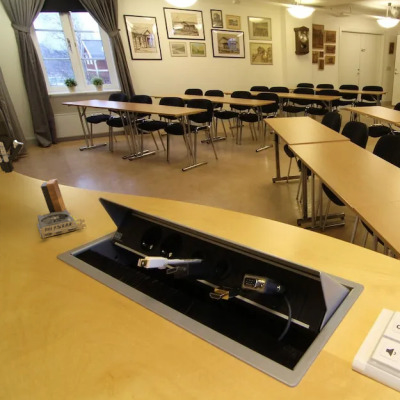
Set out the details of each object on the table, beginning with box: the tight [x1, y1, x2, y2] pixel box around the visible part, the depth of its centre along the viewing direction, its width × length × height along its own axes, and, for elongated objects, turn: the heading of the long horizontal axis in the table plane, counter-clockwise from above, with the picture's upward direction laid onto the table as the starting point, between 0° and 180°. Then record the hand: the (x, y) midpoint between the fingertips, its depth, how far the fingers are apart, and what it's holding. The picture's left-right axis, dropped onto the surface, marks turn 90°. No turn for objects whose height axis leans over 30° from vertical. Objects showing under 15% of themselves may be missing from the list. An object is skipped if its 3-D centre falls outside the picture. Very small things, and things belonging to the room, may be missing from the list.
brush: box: [40, 178, 67, 213], centre depth 118 cm, size 4×6×13 cm
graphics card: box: [36, 209, 87, 241], centre depth 111 cm, size 17×4×12 cm
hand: (9, 172), depth 109 cm, fingers closed
